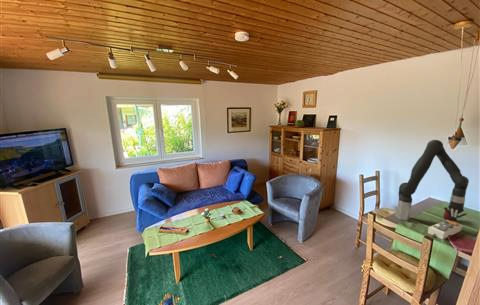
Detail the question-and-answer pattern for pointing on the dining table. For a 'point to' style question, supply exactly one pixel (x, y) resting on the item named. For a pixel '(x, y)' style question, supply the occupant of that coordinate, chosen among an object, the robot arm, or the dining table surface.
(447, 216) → the mug
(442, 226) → the rocker
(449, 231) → the power strip
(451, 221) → the rocker
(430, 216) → the dining table surface
